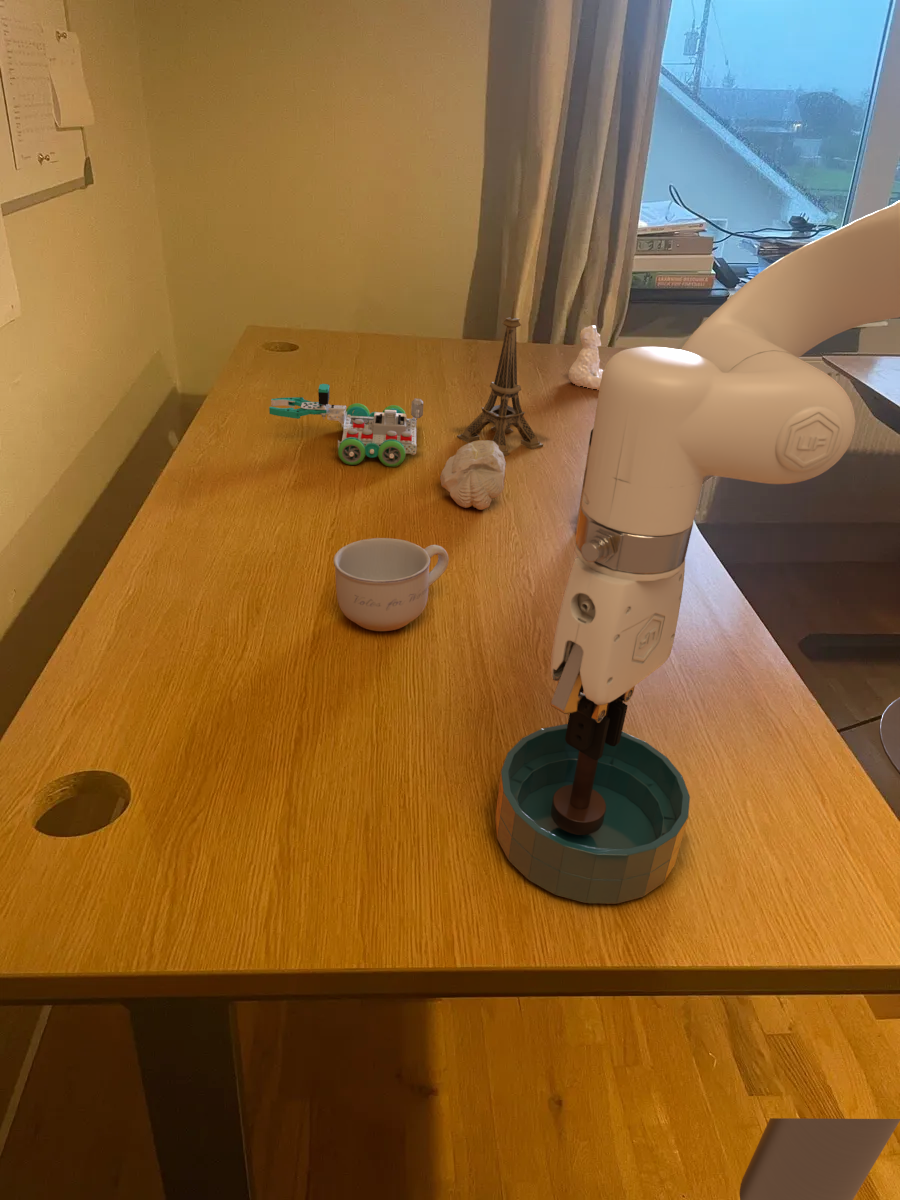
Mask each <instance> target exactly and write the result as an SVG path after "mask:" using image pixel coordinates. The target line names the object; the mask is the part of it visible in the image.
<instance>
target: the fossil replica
mask: <svg viewBox="0 0 900 1200" xmlns="http://www.w3.org/2000/svg"><path fill="white" fill-rule="evenodd" d="M506 467H507V462H506V459H505V456H504V455H503V453H502V452H501V451H500V450H499V446H498V445H497V444H496V443H495V442H494V441H493V440H489V439H486V440H485V439H484V440H482V439H479V440H475V441H471V442H467V443H466V444H463V445H462V446H461V447H460V448H458V449H457V450H456V452H455V454H454V455H452V456H450V457H448V459H447V460H446V462H445V464H444V467H443V468H442V470H441V473H440V476H439V479H440V482H441V484H440V487H442V488H443V489H445V490H446V491H447V492H449V496H450V498H451V499H452V500H453V501H454V502H455V503H456V504H457V505H458V506H460V507H461V508H465V509H468V508H470V507H473V508H476V510H481V511H482V510H485V509H488V508H490V506H491V502H492V501H493V499H495V498H497V497H499V496H500V495H501V494H502V493H503V491H504V489H505V488H504V487H505V480H506Z"/></svg>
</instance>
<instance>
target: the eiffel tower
mask: <svg viewBox="0 0 900 1200" xmlns="http://www.w3.org/2000/svg"><path fill="white" fill-rule="evenodd" d="M515 299H516V293H514V296H513V302H512V309H511V315H510V316H509V317H504V321H503V322H502V324H503V326H505V333H504V336H503V337H504V338H503V342H502V347H501V352H500V357H499V361H498V365H497V369H496V374H495V378H494V381H490V384H489V388H491V391H490V394H489V397H488V400H487V402H486V403H485V405H484V406H483V407H481V411H482V412H480V414H479V415H478V416H477V417H475V419H473V421H472V422H471V423H469V425H467V427H466V428H465V429H464V431H463V432H462V433H460V434H458V435H457V436H456V438H457V439H459V440H461V441H463V442H465V443H472V442H473V441H479V440H480V437H481V436H480V435H479V434H480V433H481V432H482V430H483V429H484V428H485V427H486V426H487V425H489V424H492V425H494V426H492V427H490V429H491V431H494V432H495V433H494V436H493V439H492V441H494V442H495V443H496V444H497V445H498V446H499V450H500V451H501V452H502V453H503V455H504V457H506V456H509V455H510V452H509V450H508V449H507V439H506V434H509V433H513V432H514V430H513V429H512V428H511V426H514V427H515V428H516V429H517V431H518V433H519V435H520V437H521V438H522V439H521V440H520V445H522V446H524V447H526V448H528V449H531V450H533V449H537V448H542V447H544V443H542V442H540V441H539V439H538V436H537V435H536V433H535V432H534V431H533V428H532V427H531V425H530V424H529V422H528V421H527V420H526V418H525V416H524V415H525V414H526V412H525V411H523V409H522V406H521V402H520V397H519V393H520V392H521V391H522V386H521V385H519V384H518V362H517V361H518V359H517V353H518V352H517V328H518V327H521V326H522V324H521V323H520V321H521V318H517V317H515V304H516V303H515V301H516V300H515ZM498 397H500V404H497V405H496V401H497V399H498ZM509 399H511V404H512V406H510V405H509V401H510V400H509ZM541 446H542V447H541Z"/></svg>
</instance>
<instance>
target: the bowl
mask: <svg viewBox="0 0 900 1200" xmlns="http://www.w3.org/2000/svg"><path fill="white" fill-rule="evenodd" d="M567 725H568V723H563V724H558V725H553V726H547V727H542V728H540V729H538V730H536V731H533V732H531V733H530V734H528V735H526V736H524V737H521V738H520V739H519V740H518V742H516V744H515V745H514V746H513V747H512V748H511V749H509V751H508V752H507V753H506V756H505V758H504V762H503V763H502V764H503V765H502V766H501V767H502V768H501V770H500V776H499V785H498V792H497V801H496V809H495V816H494V821H495V829H496V831H495V833H496V838H497V842H498V843H499V845H500V848H501V849H502V851H503V853H504V854H505V857H506V858H507V860H508V862H509V863H510V864H511V865H512V866H514V867H515V869H516V870H518V871H519V872H520V874H522V875H523V876H524V878H526V879H527V880H528V881H529V882H531V883H533V884H535V885H537V886H539V888H541V889H544V890H546V891H547V892H549V893H551V894H552V895H555V896H559V897H562V898H565V899H568V900H573V901H577V902H580V903H584V904H611V905H612V904H613V905H614V904H617V905H618V904H621V903H626V902H629V901H633V900H636V899H637V900H638V899H639V898H643V897H645V896H646V895H648V894H650V893H651V892H653V891H654V890H656V889H657V888H658V887H660V886H661V885H663V884H664V883H665V881H666V880H667V878H668V877H669V875H670V873H671V872H672V870H673V868H674V867H675V866H676V863H677V859H678V855H679V851H680V848H681V845H682V841H683V837H684V834H685V830H686V827H687V823H688V820H689V816H690V815H689V813H690V802H691V796H690V793H689V791H688V787H687V785H686V782H685V779H684V776H683V775H682V773H681V772H680V771H679V770H678V769H677V768H676V766H675V765H674V764H673V763H672V761H671V760H670V758H668V757H667V756H666V755H665V754H663V753H662V752H660V750H658V749H657V748H655V747H654V746H652V745H651V744H649V742H647V741H645V740H643V739H640V738H638V737H636V736H633V735H631V734H629V733H627V732H624V731H622V734H621V739H620V742H619V743H618V744H617V745H616V746H610V745H608V744H607V743H605V745H604V750H603V755H602V757H601V758H599V759H598V764H597V769H596V774H595V778H594V783H593V788H592V789H593V790H595V791H596V792H598V793H599V794H600V795H601V796H602V797H603V799H604V801H605V804H606V811H605V816H604V820H603V824H602V826H601V828H600V829H599V830H597V831H596V832H594V833H592V834H588V835H576V834H572V833H569V832H566V831H564V830H563V829H561V828H560V827H558V826H557V825H556V823H555V822H554V821H553V819H552V816H551V807H552V801H553V796H554V794H555V793H556V791H557V790H558V789H560V788H561V787H563V786H566V785H573V782H574V776H575V771H576V766H577V760H578V755H579V750H577V749H575V748H574V747H572V746H570V745H569V744H567V742H566V740H565V737H566V731H567Z"/></svg>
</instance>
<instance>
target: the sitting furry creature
mask: <svg viewBox="0 0 900 1200" xmlns="http://www.w3.org/2000/svg"><path fill="white" fill-rule="evenodd" d="M579 339H580V343H581V346H582V348H581V349H580V350H579V353H578V356H576V360H575V361H574V362H573V363H572V365H571V366H570V368H569V370H568V371H567V378H568V380H569V382H570V383H571V384H573V385H574V384H575V385H574V386H576V385H578V386H577V387H580V386H583V387H582V388H584V387H587V388H586V389H588V388H593V389H597V390H596V391H598V390H599V389H600V383H601V378H602V374H603V371H604V368H600V362H601V359H600V355H599V354H600V353H599V347H601V346H602V342H601V333H599V332H598V331H597V326H596V325H593V324H590V325H589V326H587V327H586V326H584V327H583V328H582V329H581V331H580V334H579ZM593 389H592V390H593Z"/></svg>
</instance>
